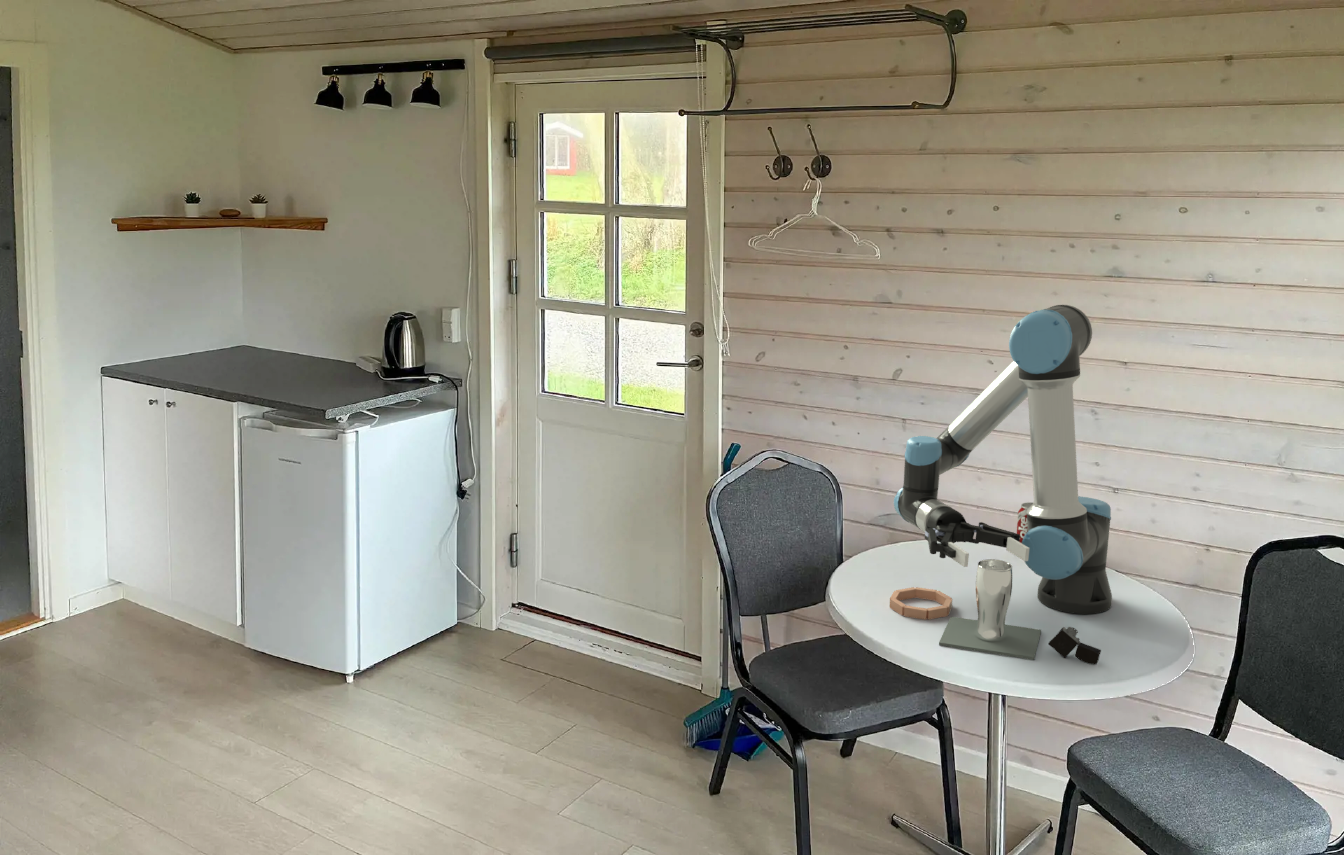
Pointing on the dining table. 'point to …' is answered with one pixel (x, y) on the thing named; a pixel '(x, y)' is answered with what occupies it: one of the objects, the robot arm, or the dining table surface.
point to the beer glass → (992, 598)
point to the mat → (1015, 645)
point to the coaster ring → (917, 611)
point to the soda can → (1022, 520)
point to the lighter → (1068, 641)
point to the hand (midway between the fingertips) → (997, 557)
